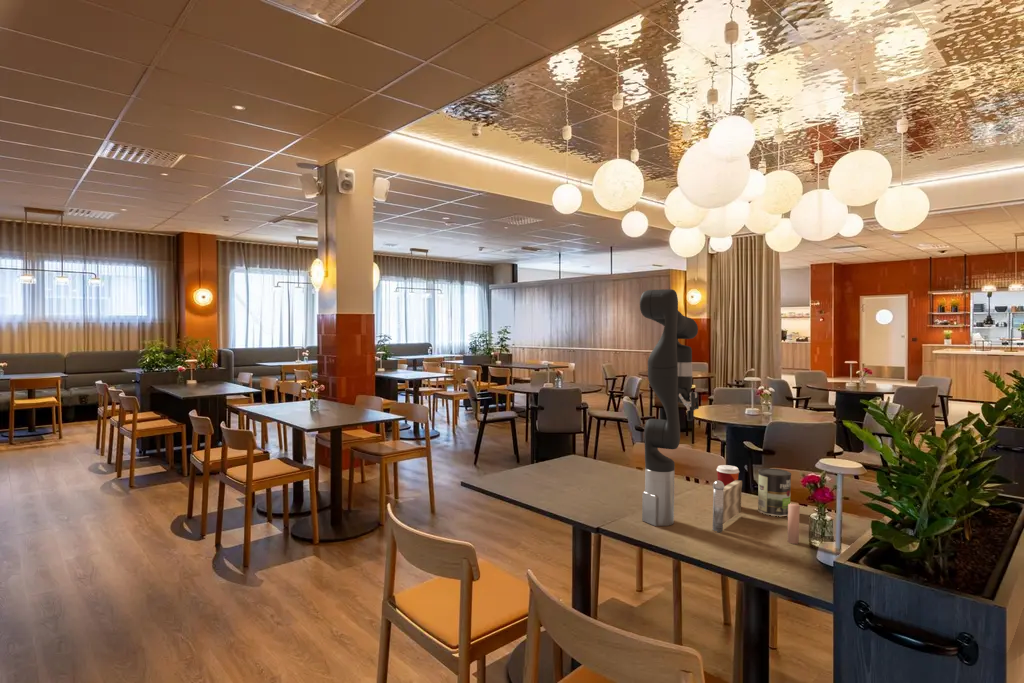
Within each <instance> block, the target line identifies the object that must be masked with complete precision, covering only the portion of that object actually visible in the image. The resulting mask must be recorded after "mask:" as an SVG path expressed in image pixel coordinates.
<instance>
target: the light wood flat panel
mask: <svg viewBox="0 0 1024 683" xmlns="http://www.w3.org/2000/svg"><path fill="white" fill-rule="evenodd" d="M742 488H743V480H739V479H738V480H735V481H733V482H731V483H730V484H728V485H726V486H724V494H723V525H724V524H725V523H727V522H729V520H731V519H732V518H734V517H736V515H738V514H740V513H741V512H742Z"/></svg>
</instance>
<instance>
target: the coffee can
mask: <svg viewBox="0 0 1024 683" xmlns="http://www.w3.org/2000/svg"><path fill="white" fill-rule="evenodd" d="M757 471H758V484H757V485H758V486H757V488H758V493H757V494H758V495H757V511H758V512H759V513H760V514H762V513H763V514H762V515H765V514H766V515H765V516H769V515H771V516H770V517H775V516H777V517H778V516H779V517H778V518H782V517H781V516H787V517H788V504H791V487H792V481H791V480H792V472H790V471H788V470H784V469H779V468H773V467H771V468H770V467H765V468H759V469H757ZM777 517H776V518H777Z"/></svg>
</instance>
